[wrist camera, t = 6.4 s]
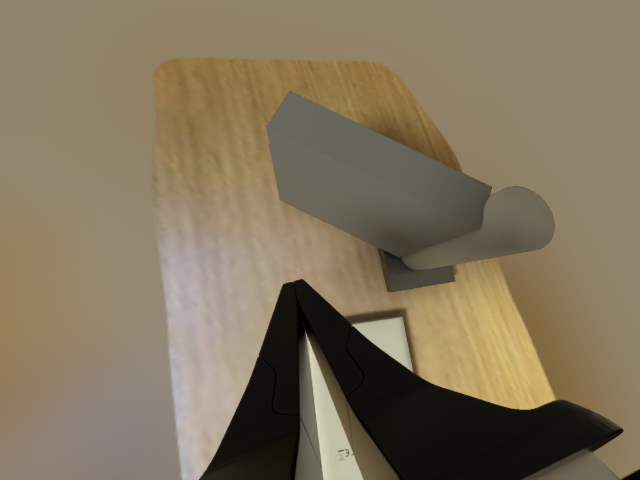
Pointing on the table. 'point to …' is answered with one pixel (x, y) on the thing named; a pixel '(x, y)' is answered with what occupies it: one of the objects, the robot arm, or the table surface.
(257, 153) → the table surface
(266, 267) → the table surface
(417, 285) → the arm mount
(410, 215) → the swing arm
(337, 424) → the external hard drive
